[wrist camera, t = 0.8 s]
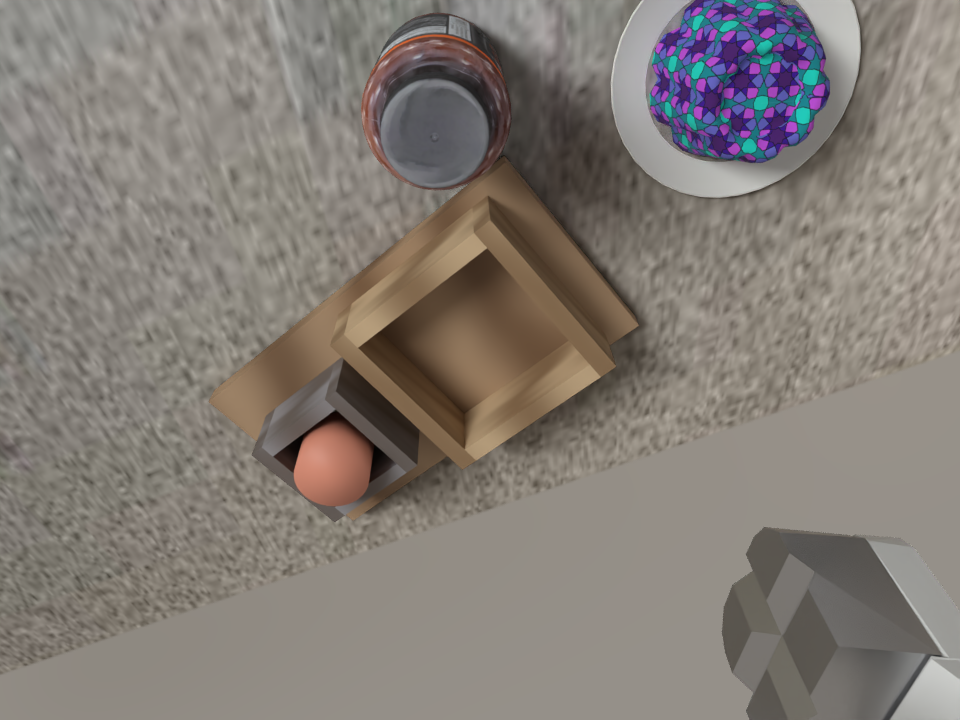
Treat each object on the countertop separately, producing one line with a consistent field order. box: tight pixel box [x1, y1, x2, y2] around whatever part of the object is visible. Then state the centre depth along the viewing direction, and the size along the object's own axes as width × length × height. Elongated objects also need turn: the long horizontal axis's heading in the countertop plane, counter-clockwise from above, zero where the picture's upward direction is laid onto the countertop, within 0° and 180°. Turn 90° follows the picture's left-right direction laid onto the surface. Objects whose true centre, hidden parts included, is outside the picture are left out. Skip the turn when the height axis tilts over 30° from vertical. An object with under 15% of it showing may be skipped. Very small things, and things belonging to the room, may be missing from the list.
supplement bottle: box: [361, 13, 511, 190], centre depth 33 cm, size 6×6×11 cm
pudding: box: [611, 0, 861, 198], centre depth 37 cm, size 12×12×5 cm
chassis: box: [209, 156, 639, 522], centre depth 44 cm, size 22×12×5 cm, turn 129°
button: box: [294, 412, 374, 506], centre depth 44 cm, size 4×4×3 cm
